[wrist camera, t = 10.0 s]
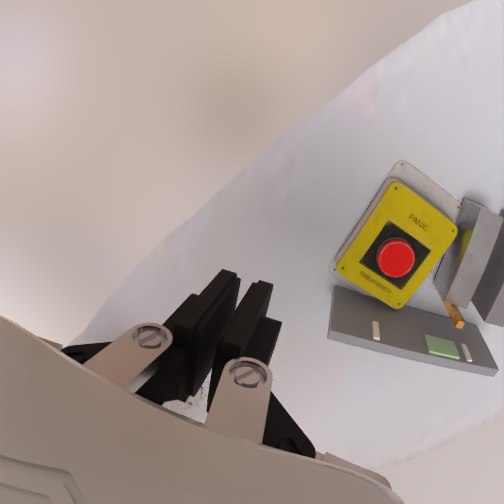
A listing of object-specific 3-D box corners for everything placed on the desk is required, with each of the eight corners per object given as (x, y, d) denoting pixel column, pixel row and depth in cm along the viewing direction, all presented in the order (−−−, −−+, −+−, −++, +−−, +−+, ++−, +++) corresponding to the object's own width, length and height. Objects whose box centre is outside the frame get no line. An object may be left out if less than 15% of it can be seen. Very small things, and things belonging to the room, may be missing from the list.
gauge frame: (472, 331, 32) (493, 376, 24) (332, 293, 36) (327, 338, 27) (522, 219, 26) (562, 244, 18) (371, 160, 29) (383, 169, 21)
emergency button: (322, 286, 31) (407, 158, 25) (325, 268, 35) (398, 156, 29) (392, 328, 31) (478, 215, 24) (388, 308, 35) (463, 205, 28)
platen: (450, 295, 31) (469, 331, 24) (430, 288, 32) (446, 325, 25) (485, 206, 27) (516, 226, 20) (463, 197, 27) (493, 215, 20)
